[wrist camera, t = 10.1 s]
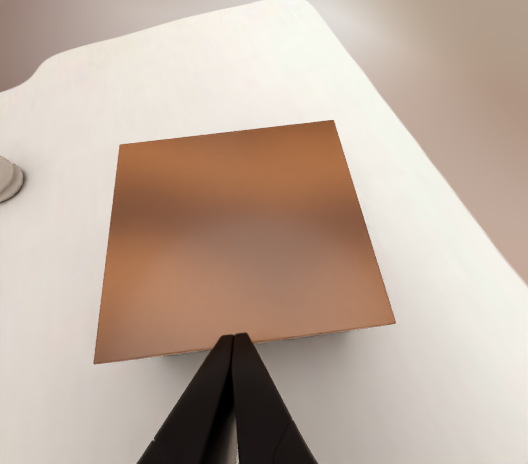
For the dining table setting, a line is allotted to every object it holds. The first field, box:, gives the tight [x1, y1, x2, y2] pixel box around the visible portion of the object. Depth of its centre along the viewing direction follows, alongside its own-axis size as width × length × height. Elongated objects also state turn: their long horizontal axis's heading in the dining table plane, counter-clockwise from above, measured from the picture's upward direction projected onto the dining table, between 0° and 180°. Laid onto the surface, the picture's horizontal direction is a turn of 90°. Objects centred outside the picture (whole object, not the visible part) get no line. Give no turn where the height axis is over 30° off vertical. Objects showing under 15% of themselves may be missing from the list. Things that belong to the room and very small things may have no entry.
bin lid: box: [94, 120, 396, 364], centre depth 14 cm, size 12×14×1 cm
